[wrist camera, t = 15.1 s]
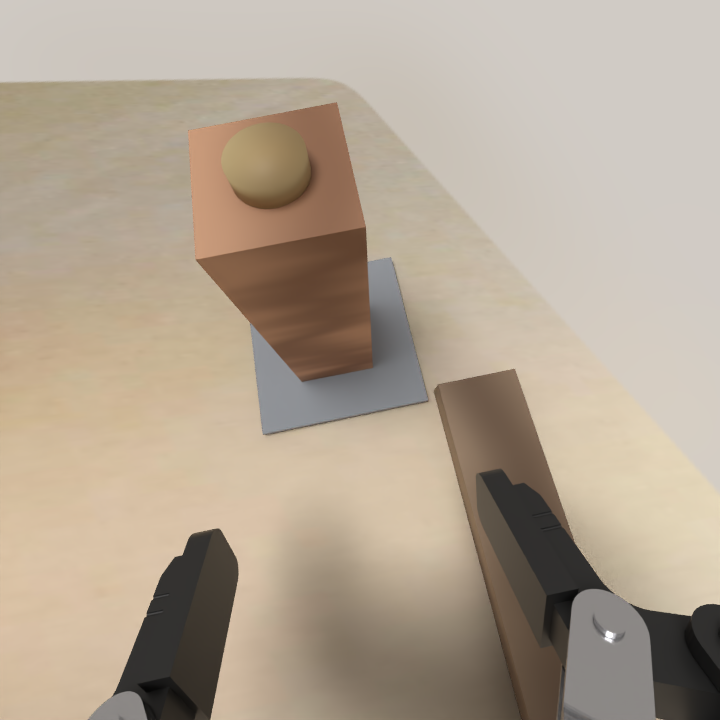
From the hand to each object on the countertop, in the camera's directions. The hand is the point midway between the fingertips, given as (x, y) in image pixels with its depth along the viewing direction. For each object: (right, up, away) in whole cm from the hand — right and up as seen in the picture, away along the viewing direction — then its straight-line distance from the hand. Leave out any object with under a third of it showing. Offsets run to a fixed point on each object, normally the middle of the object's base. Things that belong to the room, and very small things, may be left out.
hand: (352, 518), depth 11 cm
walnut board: (+8, -5, +6) cm, 11 cm away
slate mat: (-1, +6, +10) cm, 11 cm away
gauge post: (-1, +6, +9) cm, 11 cm away
